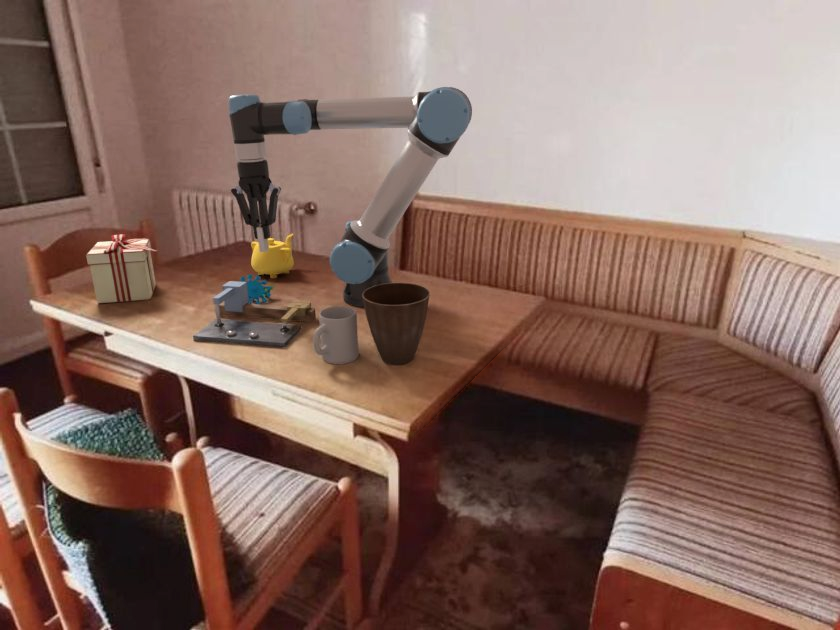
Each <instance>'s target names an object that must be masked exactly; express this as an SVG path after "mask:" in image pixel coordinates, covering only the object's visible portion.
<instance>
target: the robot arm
mask: <svg viewBox="0 0 840 630" xmlns="http://www.w3.org/2000/svg"><path fill="white" fill-rule="evenodd" d="M227 101H228V112H229V113H228V116H229V120H230V127H231V131H232V132H231V133H232V138H233V145H234V154H235V159H236V160H237V162H236V167H237V173H238V177H239V180H238V184H237V185H236V186H235V187H233V188H231V190H230V193H232V195H233V196H234V197H235V199H236V202H237V205H238V207H239V210H240V213H241V215H242V219H243V221H244V222H245V225H247V226H248V225H249V226H251V227H252V228H253V236H254V238H255V239H256V240H257V242H258V243H259V250H260V252H266V251H267V250H269V245H268V239H269V238H271V232H270V226H271V225H274V224H275V223H276V222H277V221H276V220H277V211H278V210H277V209H278V201H279V200H278V199H279V195H280V194H281V191H282V188H281V186H276V185H274V184H273V182H272V180H271V178H270V170H269V164H268V160H267V159H266V158H267V150H266V148H267V147H266V140H265V136H270V135H273V136H274V135H294V136H297V135H303V134H308V133H309V132H310V131H313V130H314V131H320V130H356V129H357V130H361V129H362V130H363V129H406V128H407V129H406V130H407V135H408V139H407V141H406V143H405V144H404V146H403V147H402V149H401V151H400V153H399V154H398V156H397V157H396V159H395V161H394V163H393V165H392V166H391V168H390V169H389V171H388V173H387V174H386V176H385V177H384V179H383V181H382V182H381V184H380V186H379V187H378V189H377V190H376V192H375V194H374V196H373V198H372V199H371V201H370V202H369V204H368V206H367V208H366V209H365V211H364V212H363V213H362V215H361V217H360V219H355V220H350V221H349V220H348V221H347V222H346V223H345V229H344V231H345V232H344V234H343V235H342V237H341V239H340V240H339V242H338V243H337V244H336V245H335V246H333V248H332V249H331V253H330V257H329V264H330V268H331V270H332V273H333V274H334V275H335V276H336V277H337V278H338V279H339V280H340V281H342V282H344V283H345V285H344V286H343V287H344V288H343V293H342V294H343V295H342V296H343V301H344V303H346V304H348V305H350V306H353V307H354V306H355V307H361V308H362V307H363V308H364V303H363V297H362V293H363V292H364V291H365V290H366V289H368V288H370V287H372V286H375V285H380V284H386V283H393V282H392V279H391V276H390V273H389V252H388V251H389V248H390V246H391V243H390V241H389V240H390V239H389V238H390V236H391V234H392V233H393V232H394V230H395V228H396V226H397V225H398V223H399V222H400V221H401V218H402V217H403V216H404V214H405V212H406V211H407V209H408V208H409V206H410V205H411V204H412V201H413V200H414V198H415V197H416V195H417V194H418V192H419V190H420V189H421V187H422V186H423V185H424V183H425V181H426V180H427V178H428V176H429V175H430V173H432V172H431V171H432V170H433V168H434V167H435V166H436V164H437V162H438V160H440V159H443V158H448V157H449V155H450V153H451V152H452V151H453V149H454V147H455V146H456V145H457V143H458V141H459V140H460V139H461V137H462V135H464V133H465V132H466V131H467V129H468V127H469V124H470V123H471V120H472V115H473V107H472V103H471V101H470V99H469V97H468V95H467V94H466V93H465V92H463V91H462V90H460V89H459V88H457V87H452V86H449V87H448V86H441V87H437V88H434V89H432V90H431V91H418V92H417V93H416V94H415V95H414V96H393V97H392V96H387V97H357V98H353V97H352V98H328V99H327V98H326V99H324V98H323V99H305V98H303V99H297V100H289V101H277V102H261V100H260V96H259V95H258V94H256V93H255V94H234V95H230V96H229V97H228V100H227ZM243 192H244V193H243ZM268 192H269V193H270V195H269V202H267V198H268V197H267V196H268V195H267V194H268ZM245 195H246V197H245ZM247 201H248V202H247ZM267 203H268V204H267Z"/></svg>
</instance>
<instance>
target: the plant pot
mask: <svg viewBox="0 0 840 630" xmlns="http://www.w3.org/2000/svg"><path fill="white" fill-rule="evenodd" d="M362 297H363V303H364V307H363V308H364V312H365V316H366V320H367V324H368V327H369V329H370V334H371V337H372V339H373V342H374V344H375V347H376V349H377V351H378V354H379V356H380V358H381V360H382V361H383V362H384V363H386V364H388V365H391V366H392V365H394V366H400V365H402V366H403V365H406V364H409V363H411V362H412V361H413V360H414V358H415V356H416V353H417V351H418V348H419V345H420V342H421V340H422V336H423V332H424V328H425V325H426V320H427V319H426V318H427V313H428V308H429V301H430V300H429V299H430V291H429V290H428V288H426V287H424V286H422V285H419V284H416V283H409V282H392V283H386V284H380V285H375V286H372V287H370V288H368V289H366V290H365V291H364V292H363V293H362Z"/></svg>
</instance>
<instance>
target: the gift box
mask: <svg viewBox="0 0 840 630" xmlns="http://www.w3.org/2000/svg"><path fill="white" fill-rule="evenodd" d="M125 238H126V234H125V233H124V234H122V233H121V234H114V235H111V240H110V241H109V240H108V241H97V242H96V243H95V244H94V246H93V247H92V248H90V250H89V251H88V252H87V253H86V255H85V257H86V260H87V265H88V266H89V268H90V273H91V278H92V283H93V289H94V293H95V299H96V303H97V304H105V303H106V304H107V303H108V304H109V303H120V302H133V301H144V300H151V298H152V296H153V294H154V291H155V288H156V285H157V284H156V283H157V282H156V277H155V271H154V266H153V259H152V252H158V251H159V249H153V248H152V245H151V240H150V238H149V237H146V238H145V237H144V238H128V239H125Z"/></svg>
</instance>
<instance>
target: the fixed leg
mask: <svg viewBox="0 0 840 630" xmlns="http://www.w3.org/2000/svg"><path fill="white" fill-rule="evenodd" d="M308 308H312V302H311V301H301V300H300V301H299V300H293V301H292V302H291V303H290V304H289V305H287V313H286V314H285V315H284V316H283V317H282V318H281V320H280V323H281V324H282V327H283V329H286V328H287V326H286V324H288V323H289V322H290V321H291V319H292V318H293V317H294V316H304V317H305V316H306V310H307V309H308Z"/></svg>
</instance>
